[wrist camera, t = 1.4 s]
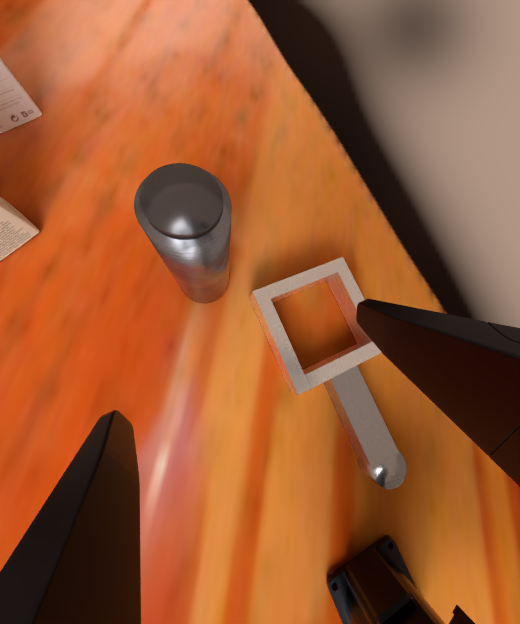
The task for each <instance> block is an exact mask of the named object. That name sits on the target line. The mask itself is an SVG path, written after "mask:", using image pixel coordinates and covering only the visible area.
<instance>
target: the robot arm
mask: <svg viewBox="0 0 520 624" xmlns="http://www.w3.org/2000/svg"><path fill="white" fill-rule="evenodd" d="M356 321H357V323H358V325H359V326H360V327H361V328H362V330H363V331H364V332H365V333H366V334H367V336H368V337H369V338H370V339H371V340H372V341H373V343H374V344H375V345H376V346H377V347H378V349H379V350H380V351H381V352H382V353H383V354H384V355H385V356H386V357H387V358H388V359H389V360H390V361H391V362H392V363H393V364H394V365H395V366H396V367H397V368H398V369H399V370H400V371H401V372H402V373H403V374H404V375H405V376H406V377H407V378H409V379H410V380H411V381H412V382H413V383H414V384H415V385H416V386H417V387H418V388H419V389H420V390H421V391H422V392H423V393H424V394H425V395H426V396H427V397H428V398H429V399H430V400H431V401H432V402H433V403H434V404H435V405H436V406H437V407H438V408H440V409H441V410H442V411H443V412H444V413H445V414H446V415H447V416H448V417H449V418H450V419H451V420H452V421H453V422H454V423H455V424H456V425H457V426H458V427H459V428H460V429H461V430H462V431H463V432H464V433H465V434H466V435H467V436H468V437H469V438H470V439H472V440H473V441H474V442H475V443H476V444H477V445H478V446H479V447H480V448H481V449H482V450H483V451H484V452H485V453H486V454H487V455H488V456H489V457H490V458H491V459H492V460H493V461H494V462H495V463H496V464H497V465H498V466H499V467H500V468H501V469H502V470H503V471H504V472H505V473H506V474H507V475H508V476H510V477H511V478H512V479H513V480H514V481H515V482H516V483H517V484H518V485H519V486H520V328H516V327H510V326H505V325H500V324H495V323H490V322H488V323H486V322H484V321H479V320H474V319H469V318H464V317H459V316H454V315H449V314H444V313H439V312H433V311H428V310H423V309H418V308H413V307H408V306H403V305H398V304H393V303H387V302H382V301H377V300H372V299H366V300H363V301H361V302H359V303H358V305H357V313H356ZM388 543H390V544H389V545H388ZM333 583H335V585H334V586H332V585H333ZM327 586H328V589H329V591H330V594H331V596H332V599H333V601H334V603H335V606H336V608H337V611H338V613H339V616H340V618H341V620H342V623H343V624H445V623H444V622H443V620H442V619H441V618H440V617H439V616H438V614H437V613H436V612H435V611H434V610H433V608H432V607H431V606H430V605H429V604H428V602H427V601H426V600H425V599H424V597H423V596H422V595H421V594H420V593H419V591H418V590H417V589H416V587H415V585H414V583H413V581H412V578H411V576H410V574H409V572H408V570H407V567H406V565H405V563H404V561H403V559H402V556H401V554H400V552H399V550H398V548H397V545H396V543H395V542H394V540H393V539H392V538H391V537H390V536H388V535H386V536H384V537H382V538H381V539H380V540H378V541H377V542H376V543H374V544H373V545H371V546H370V547H369V548H367V549H366V550H364V551H363V552H362V553H360V554H359V555H358V556H356V557H355V558H353V559H352V560H351V561H349V562H348V563H346V564H345V565H344V566H342V567H341V568H340V569H338V570H337V571H335V572H334V573H333V574H331V575H330V576H329V577H328V579H327ZM452 613H453V614H454V615H453V617H452V619H451V621H450V623H449V624H475V623H474V622H473V621H472V620H471V619H470V618H469V617H468V616H467V615H466V614H465V613H464V612H463V611H462V609H461V608H460V607H459V606H458V605H456V607H455V609H454V610H453V612H452ZM0 624H141V574H140V485H139V471H138V462H137V455H136V447H135V439H134V431H133V427H132V424H131V423H130V422H129V421H128V420H127V419H126V418H125V417H124V416H123V415H122V414H121V413H120V412H119V411H117V410H114V411H111V412H109V413H107V414H105V415H103V416H101V417H100V418H99V420H98V421H97V423H96V425H95V426H94V428H93V429H92V431H91V432H90V434H89V435H88V437H87V438H86V440H85V442H84V443H83V445H82V446H81V448H80V449H79V451H78V452H77V454H76V455H75V457H74V459H73V460H72V462H71V463H70V465H69V466H68V468H67V469H66V471H65V472H64V474H63V476H62V477H61V479H60V480H59V482H58V483H57V485H56V486H55V488H54V489H53V491H52V493H51V494H50V496H49V497H48V499H47V500H46V502H45V503H44V505H43V507H42V508H41V510H40V511H39V513H38V514H37V516H36V517H35V519H34V520H33V522H32V524H31V525H30V527H29V528H28V530H27V531H26V533H25V534H24V536H23V537H22V539H21V541H20V542H19V544H18V545H17V547H16V548H15V550H14V551H13V553H12V554H11V556H10V558H9V559H8V561H7V562H6V564H5V565H4V567H3V568H2V570H1V572H0Z"/></svg>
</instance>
